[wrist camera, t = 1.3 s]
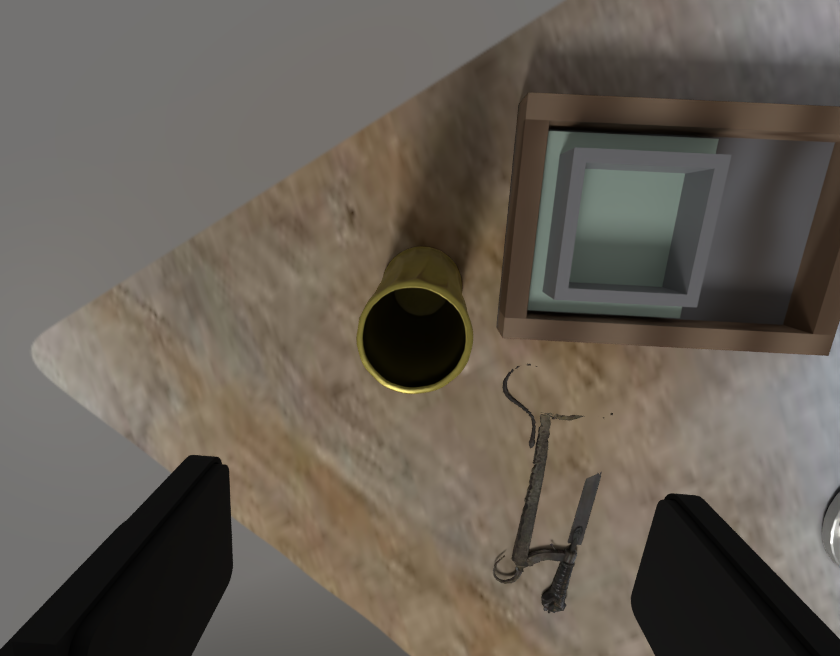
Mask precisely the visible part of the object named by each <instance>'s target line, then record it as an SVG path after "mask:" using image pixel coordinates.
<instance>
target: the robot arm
mask: <svg viewBox="0 0 840 656" xmlns="http://www.w3.org/2000/svg"><path fill="white" fill-rule="evenodd" d="M822 538H823V544H824V547H825V550H826V552H827V554H828V555H829V557H830V558H831V560H832V561H833V562H834V563H835V564H836V565H837V566H839V567H840V492H839V493H838V494H837V495H836V497H835V498H834V500H833V501H832V503H831V504H830V506H829V508H828V510H827V513H826V515H825V517H824V522H823V528H822ZM232 569H233V554H232V531H231V506H230V481H229V468H228V466H227V465H223V464H222V462H221V460H220V458H219V457H212V456H200V455H190V456H188V457H187V458H186V459H185V460H184V461H183V462H182V463H181V464H180V465H179V466H178V467H177V468H176V469H175V470H174V471H173V472H172V474H171V475H170V476H169V477H168V478H167V479H166V480H165V481H164V482H163V483H162V484H161V485H160V486H159V487H158V488H157V489H156V490H155V491H154V492H153V493H152V494H151V495H150V497H149V498H148V499H147V500H146V501H145V502H144V503H143V504H142V505H141V506H140V507H139V508H138V509H137V510H136V511H135V512H134V513H133V514H132V515H131V516H130V517H129V518H128V520H126V521H125V522H124V523H122V524H121V525H120V526H119V527H118V528H117V529H116V530H115V531H114V532H113V533H112V534H111V535H110V536H109V537H108V538H107V539H106V540H105V541H104V542H103V543H102V544H101V545H100V546H99V547H98V548H97V550H96V551H95V552H94V553H93V554H92V555H91V556H90V557H89V558H88V559H87V560H86V561H85V562H84V563H83V564H82V565H81V566H80V567H79V568H78V569H77V570H76V571H75V572H74V573H73V574H72V575H71V577H70V578H69V579H68V580H67V581H66V582H65V583H64V584H63V585H62V586H61V587H60V588H59V589H58V590H57V591H56V592H55V593H54V594H53V595H52V596H51V597H50V598H49V599H48V600H47V601H46V602H45V604H43V606H42V607H41V608H40V609H39V610H38V611H37V612H36V613H35V614H34V615H33V616H32V617H31V618H30V619H29V620H28V621H27V622H26V623H25V624H24V625H23V626H22V627H21V628H20V629H19V631H17V633H16V634H15V635H14V636H13V637H12V638H11V639H10V640H9V641H8V642H7V643H6V644H5V645H4V646H3V647H2V648H1V649H0V656H191V655H192V653H193V651H194V650H195V648H196V646H197V643H198V642H199V640H200V638H201V636H202V634H203V632H204V630H205V628H206V626H207V624H208V622H209V621H210V619H211V617H212V615H213V613H214V611H215V609H216V607H217V605H218V603H219V601H220V600H221V598H222V596H223V594H224V592H225V590H226V588H227V586H228V584H229V581H230V578H231V574H232ZM631 606H632V610H633V613H634V616H635V618H636V620H637V622H638V624H639V625H640V627H641V629H642V631H643V633H644V635H645V637H646V639H647V641H648V643H649V645H650V646H651V648H652V650H653V652H654V654H655V656H840V639H839V638H838V637H837V636H836V635H835V634H834V633H833V632H832V631H831V630H830V629H829V627H828V626H827V625H826V624H825V623H824V622H823V621H822V620H821V619H820V618H819V617H818V616H817V615H816V614H815V613H814V612H813V611H812V610H811V609H810V608H809V607H808V606H807V605H806V604H805V603H804V602H803V601H802V600H801V599H800V598H799V597H798V596H797V595H796V594H795V593H794V592H793V591H792V590H791V589H790V588H789V586H788V585H787V584H786V583H785V582H784V581H783V580H782V579H781V578H780V577H779V576H778V575H777V574H776V573H775V572H774V571H773V570H772V569H771V568H770V567H769V566H768V565H767V564H766V563H765V562H764V561H763V560H762V559H761V558H760V557H759V556H758V555H757V554H756V553H755V552H754V551H753V550H752V549H751V548H750V546H749V545H748V544H747V543H746V542H745V541H744V540H743V539H742V538H741V537H740V536H739V535H738V534H737V533H736V532H735V531H734V530H733V529H732V528H731V527H730V526H729V525H728V524H727V523H726V522H725V521H724V520H723V519H722V518H721V517H720V516H719V515H718V514H717V513H716V512H715V511H714V510H713V509H712V508H711V506H710V505H709V504H708V503H707V502H706V501H705V500H704V499H702V498H701V497H700V496H696V495H685V494H673V493H671V494H668V495H667V496H666V497H665V499H664V500H660V501H659V502H658V504H657V507H656V510H655V514H654V517H653V521H652V524H651V528H650V531H649V535H648V538H647V542H646V545H645V549H644V552H643V556H642V559H641V563H640V566H639V570H638V573H637V577H636V580H635V584H634V587H633V591H632V595H631Z"/></svg>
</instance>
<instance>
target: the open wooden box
mask: <svg viewBox="0 0 840 656" xmlns="http://www.w3.org/2000/svg"><path fill="white" fill-rule="evenodd" d="M548 131H562V132H583V133H604V134H626V135H647V136H669V137H690V138H711V139H719V140H718V145H717V149H716V154H726V155H731V160H730V164H729V168H728V173H727V177H726V182H725V186H724V190H723V195H722V199H721V204H720V208H719V212H718V217H717V221H716V226H715V230H714V235H713V239H712V243H711V248H710V252H709V257H708V261H707V265H706V270H705V274H704V279H703V283H702V287H701V292H700V296H699V301H698V305H697V307H682V310H681V315H680V318H667V317H648V316H629V315H610V314H591V313H573V312H554V311H535V310H527V307H528V299H529V290H530V282H531V273H532V265H533V256H534V248H535V239H536V231H537V222H538V214H539V206H540V197H541V189H542V180H543V172H544V163H545V155H546V146H547V138H548ZM839 321H840V107H837V106H815V105H793V104H771V103H749V102H727V101H705V100H683V99H661V98H639V97H617V96H595V95H573V94H551V93H528V94H527V95H526V96H525V97H524V99H523V100H522V101H521V103H520V104H519V106H518V116H517V126H516V136H515V146H514V156H513V166H512V176H511V186H510V196H509V206H508V216H507V226H506V236H505V246H504V256H503V267H502V277H501V287H500V297H499V307H498V317H497V329H498V331H499V332H500V334H501V336H502V338H511V339H530V340H548V341H567V342H585V343H604V344H622V345H640V346H659V347H677V348H696V349H714V350H733V351H751V352H769V353H788V354H806V355H825V356H828V355H829V352H830V349H831V346H832V343H833V340H834V337H835V334H836V330H837V327H838V324H839Z"/></svg>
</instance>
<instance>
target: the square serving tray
mask: <svg viewBox="0 0 840 656" xmlns="http://www.w3.org/2000/svg"><path fill="white" fill-rule="evenodd" d="M718 140H719V139H711V138H690V137H669V136H647V135H626V134H604V133H583V132H562V131H548V138H547V146H546V155H545V163H544V172H543V180H542V189H541V197H540V206H539V214H538V222H537V231H536V239H535V248H534V256H533V265H532V273H531V282H530V290H529V299H528V307H527V310H535V311H554V312H573V313H591V314H610V315H629V316H648V317H667V318H680V315H681V310H682V307H697V305H698V301H699V296H700V292H701V287H702V283H703V279H704V274H705V270H706V265H707V261H708V257H709V252H710V248H711V243H712V239H713V235H714V230H715V226H716V221H717V217H718V212H719V208H720V204H721V199H722V195H723V190H724V186H725V182H726V177H727V173H728V168H729V164H730V160H731V155H726V154H716V149H717V145H718Z"/></svg>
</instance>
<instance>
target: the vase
mask: <svg viewBox="0 0 840 656" xmlns="http://www.w3.org/2000/svg"><path fill="white" fill-rule="evenodd" d="M356 340H357V347H358V351H359V355H360V358H361V361H362V363H363V365H364V367H365V368H366V369H367V371H368V372H369V373H370V374H371V375H372V376H373V377H374V378H375V379H376V380H377V381H378V382H379V383H381V384H382V385H383V386H385V387H387V388H389V389H391V390H394V391H397V392H401V393H407V394H419V393H425V392H431V391H434V390H437V389H440V388H442V387H444V386H445V385H447V384H448V383H449V382H451V381H452V380H453V379H454V378H455V377H457V376H458V375H459V374H460V373H461V372H462V370H463V369H464V367H465V366H466V364H467V362H468V360H469V356H470V353H471V349H472V344H473V329H472V324H471V321H470V319H469V315H468V312H467V307H466V304H465V301H464V298H463V296H462V280H461V276H460V272H459V270H458V268H457V266H456V264H455V263H454V262H453V261H452V259H451V258H450V257H448V256H447V255H446V254H445V253H443V252H441V251H439V250H437V249H434V248H430V247H413V248H410V249H407V250H405V251H403V252H401V253H399V254H398V255H397V256H396V257H394V258H393V259H392V261H391V262H390V263H389V265H388V266H387V268H386V270H385V272H384V275H383V279H382V281H381V283H380V284H379V286H378V288H377V290H376V292H375V293H374V295H373V296H372V297H371V298H370V299H369V300H368V302H367V304H366V306H365V308H364V310H363V312H362V314H361V316H360V317H359V325H358V331H357V337H356Z"/></svg>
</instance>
